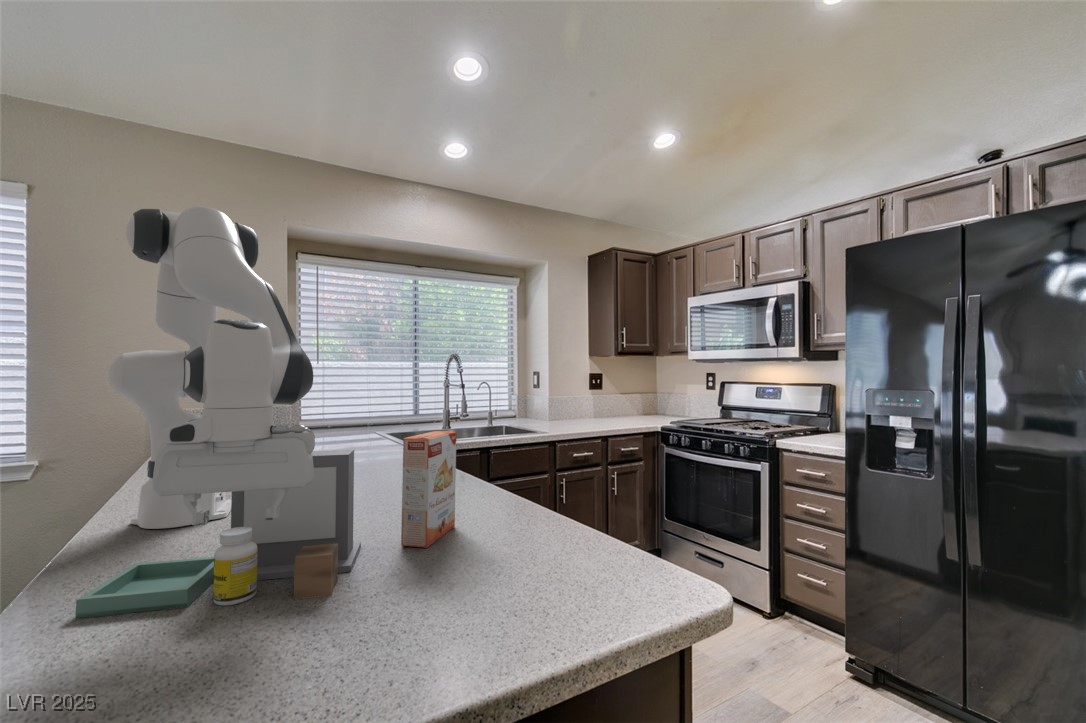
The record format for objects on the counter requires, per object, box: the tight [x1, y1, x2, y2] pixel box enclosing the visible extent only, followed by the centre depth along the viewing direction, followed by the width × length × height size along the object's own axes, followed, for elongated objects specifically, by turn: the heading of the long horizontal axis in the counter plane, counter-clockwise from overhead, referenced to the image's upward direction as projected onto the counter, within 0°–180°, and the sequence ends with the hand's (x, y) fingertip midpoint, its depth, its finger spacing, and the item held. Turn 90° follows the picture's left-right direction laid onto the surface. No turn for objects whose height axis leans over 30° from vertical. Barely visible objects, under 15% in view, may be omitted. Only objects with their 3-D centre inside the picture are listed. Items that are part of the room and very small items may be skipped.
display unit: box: [230, 449, 362, 581], centre depth 82 cm, size 12×20×19 cm, turn 104°
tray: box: [75, 556, 214, 620], centre depth 71 cm, size 13×13×2 cm
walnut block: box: [293, 543, 338, 600], centre depth 71 cm, size 5×5×6 cm
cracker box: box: [400, 430, 457, 549], centre depth 96 cm, size 14×6×21 cm, turn 168°
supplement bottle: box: [212, 527, 258, 607], centre depth 69 cm, size 5×5×10 cm
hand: (237, 521), depth 69 cm, fingers open, 8 cm apart
